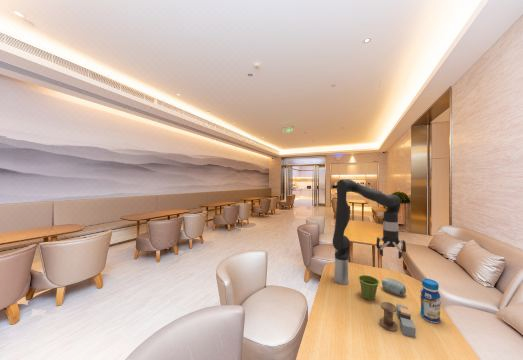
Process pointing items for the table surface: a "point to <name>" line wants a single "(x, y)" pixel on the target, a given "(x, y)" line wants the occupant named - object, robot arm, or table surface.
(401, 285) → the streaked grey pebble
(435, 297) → the beverage bottle
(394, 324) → the bobbin
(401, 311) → the tan rectangular block
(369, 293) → the plant pot
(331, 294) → the table surface
